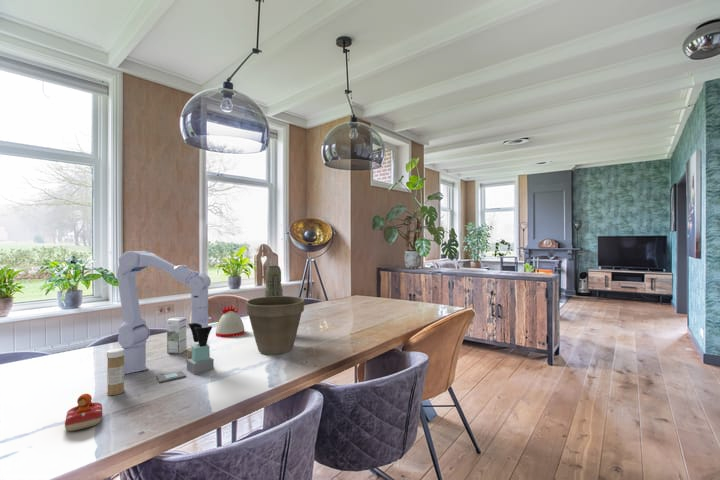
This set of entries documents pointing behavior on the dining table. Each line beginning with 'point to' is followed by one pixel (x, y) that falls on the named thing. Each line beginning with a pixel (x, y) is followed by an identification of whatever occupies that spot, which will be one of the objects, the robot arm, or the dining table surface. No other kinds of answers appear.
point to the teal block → (200, 353)
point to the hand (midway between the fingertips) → (200, 343)
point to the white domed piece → (229, 324)
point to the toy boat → (83, 414)
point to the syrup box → (176, 335)
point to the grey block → (200, 366)
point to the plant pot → (275, 322)
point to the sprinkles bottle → (115, 371)
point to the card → (171, 376)
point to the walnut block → (189, 353)
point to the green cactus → (273, 282)
